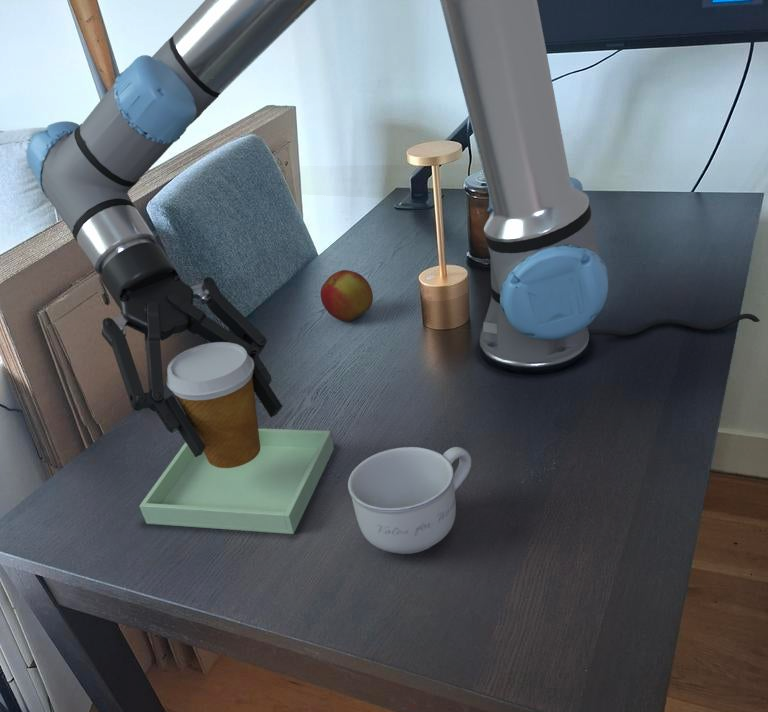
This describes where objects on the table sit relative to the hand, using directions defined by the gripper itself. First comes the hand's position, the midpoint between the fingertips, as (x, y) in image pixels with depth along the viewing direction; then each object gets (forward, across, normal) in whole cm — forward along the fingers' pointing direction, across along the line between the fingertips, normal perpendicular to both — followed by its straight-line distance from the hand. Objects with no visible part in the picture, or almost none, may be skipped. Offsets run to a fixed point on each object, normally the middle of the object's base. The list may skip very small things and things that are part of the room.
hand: (239, 431), depth 84 cm
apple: (-13, -36, -26) cm, 46 cm away
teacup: (+20, -9, +7) cm, 23 cm away
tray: (+4, 0, -9) cm, 10 cm away
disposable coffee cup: (+1, 0, -5) cm, 5 cm away
